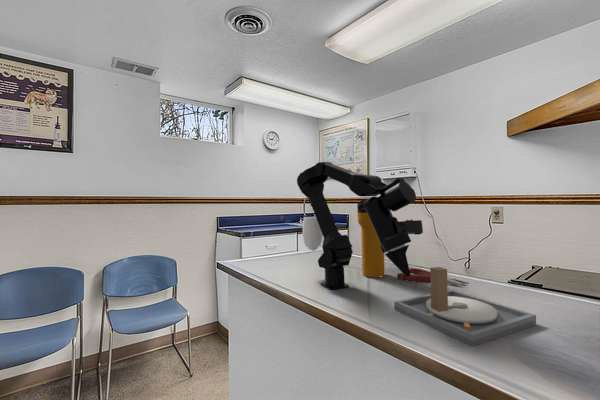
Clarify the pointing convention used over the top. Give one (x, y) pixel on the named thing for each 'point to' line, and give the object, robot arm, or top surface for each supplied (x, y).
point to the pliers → (427, 277)
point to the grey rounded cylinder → (312, 233)
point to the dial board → (466, 332)
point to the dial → (456, 303)
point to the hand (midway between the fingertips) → (408, 275)
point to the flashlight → (370, 247)
